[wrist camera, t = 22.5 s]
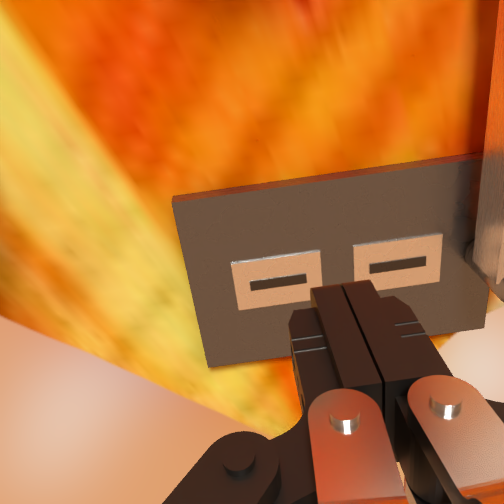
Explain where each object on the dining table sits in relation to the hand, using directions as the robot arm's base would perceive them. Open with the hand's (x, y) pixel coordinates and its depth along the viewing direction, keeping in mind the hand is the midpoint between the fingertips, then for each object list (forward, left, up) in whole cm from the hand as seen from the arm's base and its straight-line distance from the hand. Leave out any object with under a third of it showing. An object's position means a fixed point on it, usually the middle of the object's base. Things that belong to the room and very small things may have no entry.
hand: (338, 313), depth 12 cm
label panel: (+6, -16, -29) cm, 34 cm away
